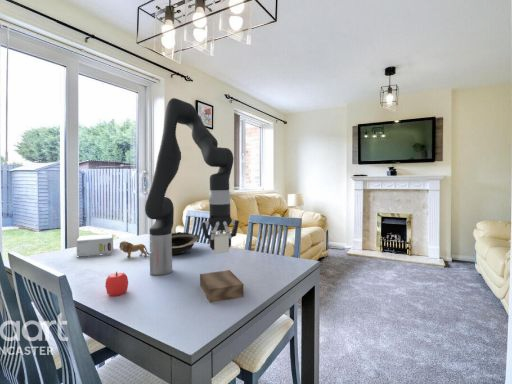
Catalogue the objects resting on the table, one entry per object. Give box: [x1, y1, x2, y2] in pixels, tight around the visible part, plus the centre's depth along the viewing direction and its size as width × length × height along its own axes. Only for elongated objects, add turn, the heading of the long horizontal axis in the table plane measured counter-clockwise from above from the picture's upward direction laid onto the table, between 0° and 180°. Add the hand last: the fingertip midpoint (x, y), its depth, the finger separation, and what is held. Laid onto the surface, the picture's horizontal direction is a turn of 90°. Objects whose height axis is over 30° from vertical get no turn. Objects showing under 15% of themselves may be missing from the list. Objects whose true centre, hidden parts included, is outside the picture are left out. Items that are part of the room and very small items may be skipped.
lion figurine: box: [118, 240, 150, 259], centre depth 147 cm, size 15×5×9 cm, turn 115°
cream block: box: [212, 232, 230, 254], centre depth 102 cm, size 5×5×6 cm
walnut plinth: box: [199, 269, 244, 304], centre depth 102 cm, size 12×16×5 cm
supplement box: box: [76, 233, 114, 257], centre depth 155 cm, size 17×13×9 cm
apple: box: [104, 271, 129, 297], centre depth 100 cm, size 8×8×8 cm
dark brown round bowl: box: [172, 231, 201, 256], centre depth 157 cm, size 25×25×9 cm
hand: (220, 248), depth 102 cm, fingers closed on cream block, 5 cm apart
